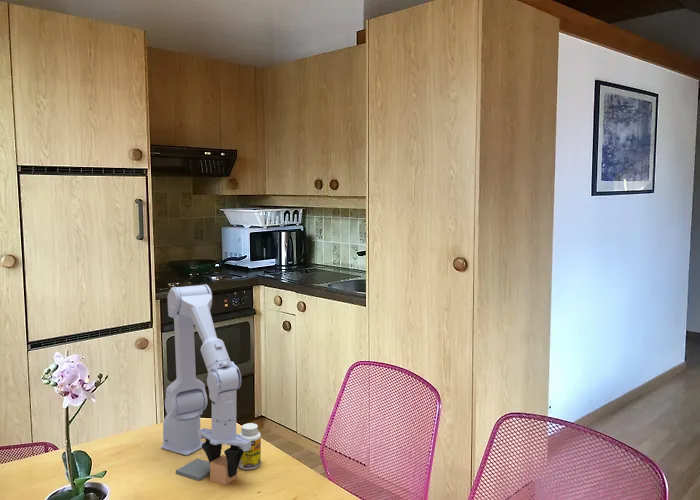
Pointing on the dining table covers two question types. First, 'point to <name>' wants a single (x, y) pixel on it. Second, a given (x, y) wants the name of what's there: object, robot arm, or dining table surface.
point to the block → (220, 471)
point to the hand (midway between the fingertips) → (224, 473)
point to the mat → (195, 469)
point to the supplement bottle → (253, 455)
